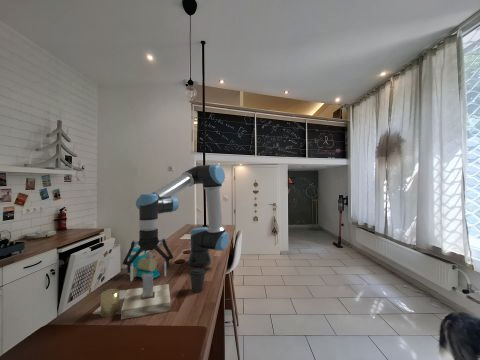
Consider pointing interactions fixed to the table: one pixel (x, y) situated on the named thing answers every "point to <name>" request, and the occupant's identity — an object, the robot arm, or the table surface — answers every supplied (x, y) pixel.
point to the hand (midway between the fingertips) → (148, 277)
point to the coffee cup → (197, 279)
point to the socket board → (145, 302)
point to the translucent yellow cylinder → (109, 302)
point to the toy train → (144, 265)
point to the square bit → (147, 286)
